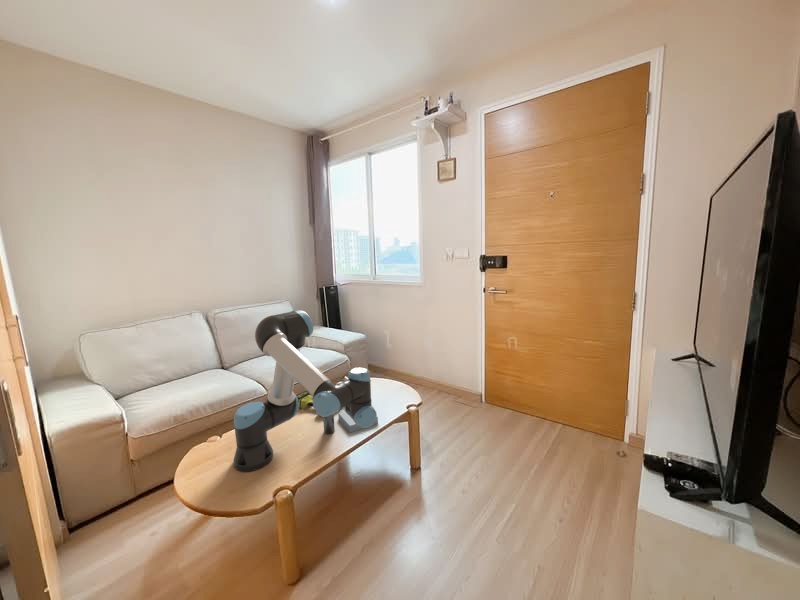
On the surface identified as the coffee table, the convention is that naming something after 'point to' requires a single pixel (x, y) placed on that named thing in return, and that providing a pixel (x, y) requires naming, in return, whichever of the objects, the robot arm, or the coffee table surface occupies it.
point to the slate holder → (351, 422)
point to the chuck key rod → (329, 424)
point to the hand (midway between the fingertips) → (330, 383)
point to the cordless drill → (305, 400)
